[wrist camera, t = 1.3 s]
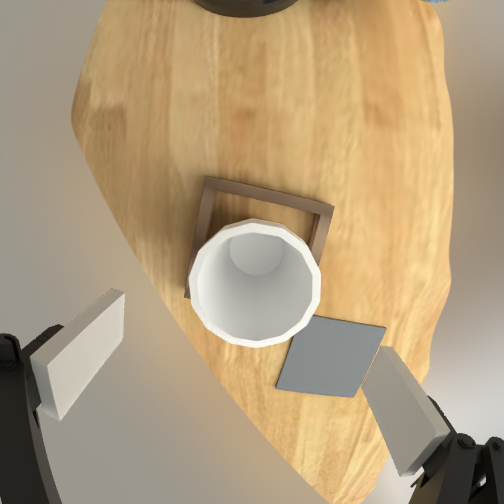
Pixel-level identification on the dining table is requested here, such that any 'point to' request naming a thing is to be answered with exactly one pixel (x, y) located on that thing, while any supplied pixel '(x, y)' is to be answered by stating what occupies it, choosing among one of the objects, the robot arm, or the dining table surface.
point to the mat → (330, 357)
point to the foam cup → (255, 283)
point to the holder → (217, 184)
